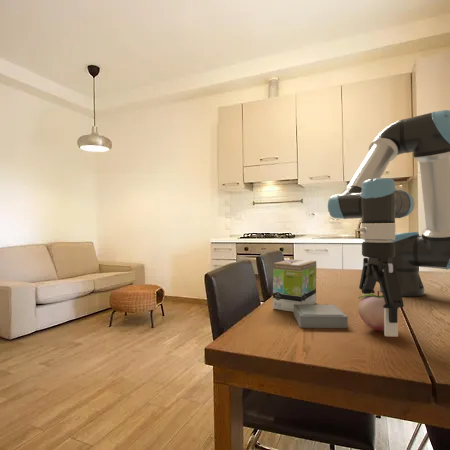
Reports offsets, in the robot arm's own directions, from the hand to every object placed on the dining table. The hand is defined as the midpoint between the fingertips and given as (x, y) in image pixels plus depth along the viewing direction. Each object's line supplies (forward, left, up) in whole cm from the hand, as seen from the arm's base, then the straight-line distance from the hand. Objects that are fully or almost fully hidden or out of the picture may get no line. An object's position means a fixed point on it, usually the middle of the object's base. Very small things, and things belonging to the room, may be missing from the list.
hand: (378, 326), depth 79 cm
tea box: (+17, -24, -1) cm, 29 cm away
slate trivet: (+13, -8, -1) cm, 15 cm away
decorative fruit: (0, 0, -1) cm, 1 cm away
